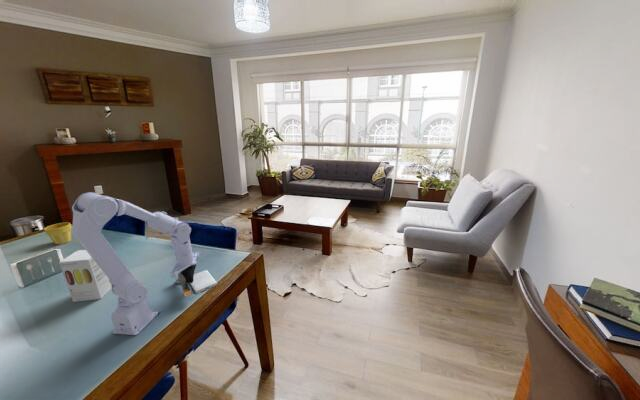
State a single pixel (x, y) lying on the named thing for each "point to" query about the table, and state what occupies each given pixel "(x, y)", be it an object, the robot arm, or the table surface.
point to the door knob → (178, 281)
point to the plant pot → (59, 232)
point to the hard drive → (202, 281)
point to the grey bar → (184, 285)
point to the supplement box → (84, 277)
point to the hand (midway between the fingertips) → (190, 282)
